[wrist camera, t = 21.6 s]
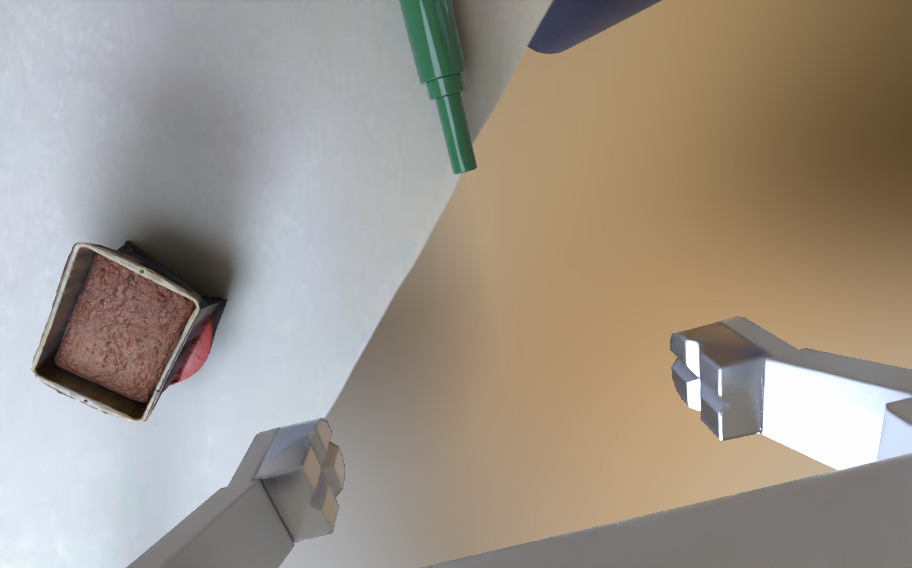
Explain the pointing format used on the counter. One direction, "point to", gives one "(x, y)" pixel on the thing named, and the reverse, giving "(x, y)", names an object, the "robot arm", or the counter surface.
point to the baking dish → (123, 331)
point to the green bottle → (441, 71)
